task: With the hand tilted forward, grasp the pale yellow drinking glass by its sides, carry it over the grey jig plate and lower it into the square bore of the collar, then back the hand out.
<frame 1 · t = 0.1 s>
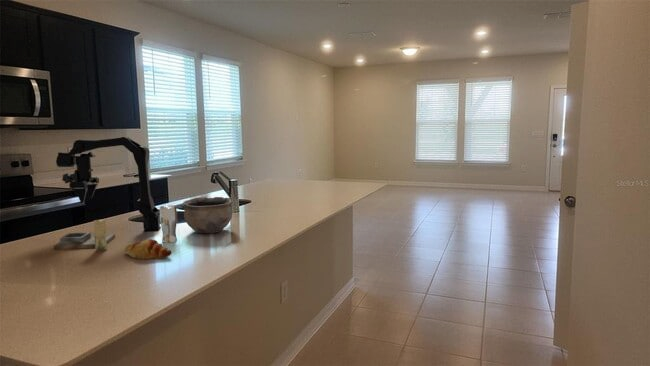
hand: (86, 200, 191), 15 cm above the worktop, tool pointing down, fingers open, 9 cm apart
jig plate: (76, 244, 172), on the worktop
beer glass: (169, 241, 178), on the worktop
croissant: (148, 256, 158), on the worktop
pale yellow drinking glass: (101, 250, 165), on the worktop
ceramic bowl: (209, 232, 195), on the worktop
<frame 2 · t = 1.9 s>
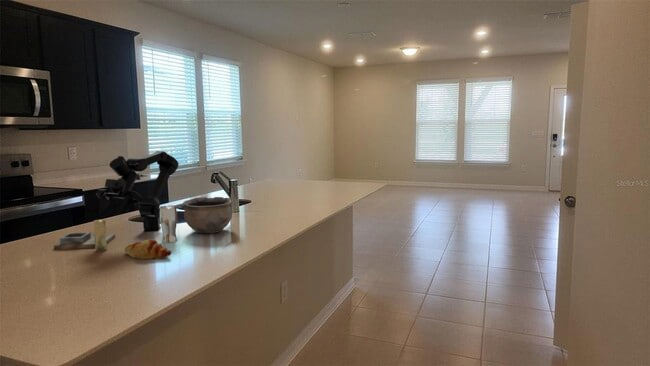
hand: (109, 213, 171), 13 cm above the worktop, tool tilted 45°, fingers open, 9 cm apart
nothing on the worktop moved.
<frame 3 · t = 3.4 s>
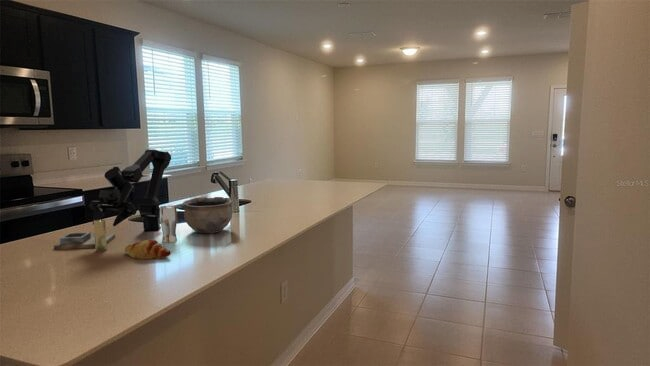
hand: (103, 225, 166), 10 cm above the worktop, tool tilted 45°, fingers open, 9 cm apart
nothing on the worktop moved.
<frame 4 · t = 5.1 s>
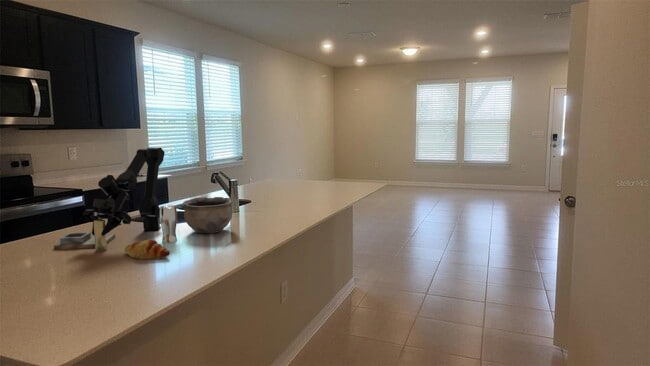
hand: (97, 234, 162), 7 cm above the worktop, tool tilted 45°, fingers closed on pale yellow drinking glass, 4 cm apart
pale yellow drinking glass: (101, 250, 165), on the worktop, touching gripper
everything else where it was.
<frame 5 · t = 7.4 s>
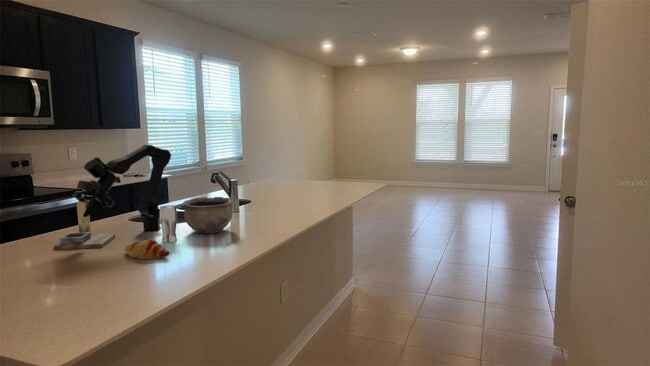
hand: (80, 216, 165), 13 cm above the worktop, tool tilted 45°, fingers closed on pale yellow drinking glass, 4 cm apart
pale yellow drinking glass: (84, 231, 167), point 7 cm above the worktop, touching gripper
everything else where it was.
when the fingers open (9 cm above the worktop, at t = 9.9 s): pale yellow drinking glass stays where it is, resting on jig plate.
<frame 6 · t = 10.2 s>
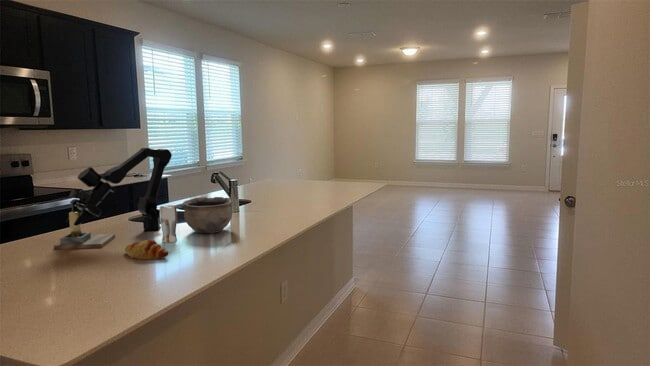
hand: (71, 223, 170), 9 cm above the worktop, tool tilted 45°, fingers open, 7 cm apart
pale yellow drinking glass: (76, 240, 172), point 2 cm above the worktop, touching jig plate
everything else where it was.
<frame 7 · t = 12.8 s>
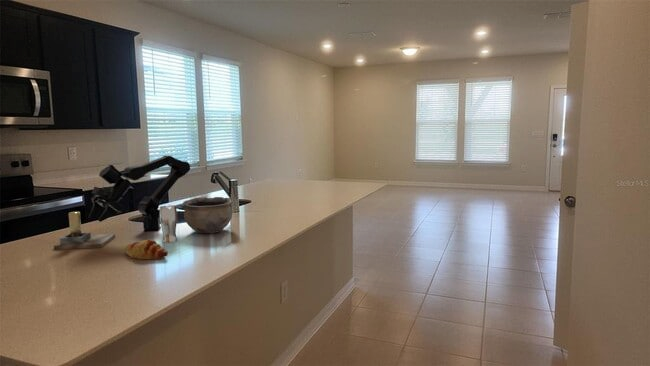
hand: (94, 219, 177), 9 cm above the worktop, tool tilted 45°, fingers open, 9 cm apart
nothing on the worktop moved.
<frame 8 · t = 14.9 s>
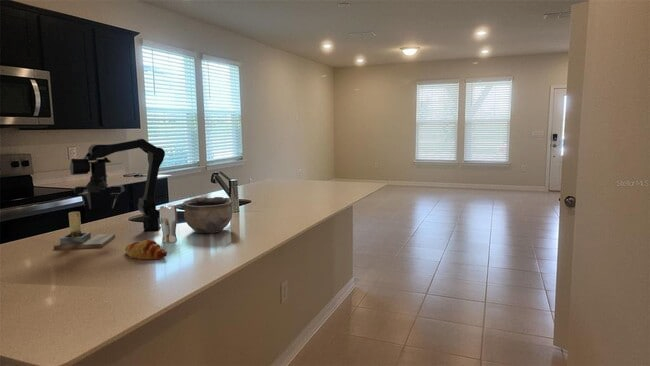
hand: (101, 208, 182), 13 cm above the worktop, tool pointing down, fingers open, 9 cm apart
nothing on the worktop moved.
at the end: pale yellow drinking glass 0.1 cm off-centre on the jig plate, point 1.5 cm above the jig plate's base; pale yellow drinking glass tilted 0°; the gripper is holding nothing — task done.
